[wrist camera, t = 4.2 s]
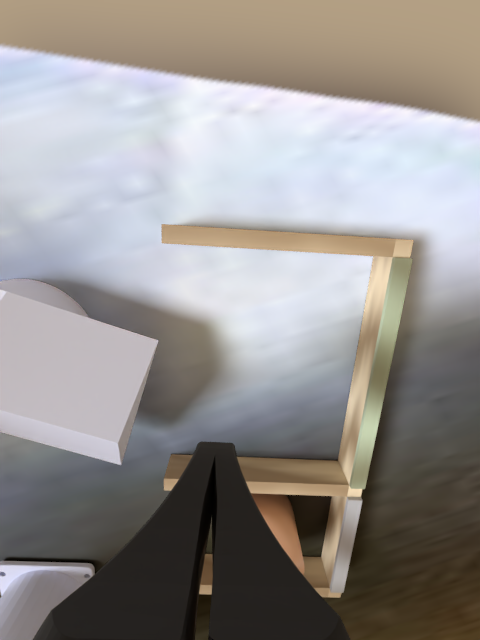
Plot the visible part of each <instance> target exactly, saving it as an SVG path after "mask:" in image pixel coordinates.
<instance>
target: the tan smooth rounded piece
mask: <svg viewBox="0 0 480 640" xmlns="http://www.w3.org/2000/svg"><path fill="white" fill-rule="evenodd" d="M251 495H252V497H253V499H254V501H255V503H256V505H257V507H258V509H259V510H260V512H261V514H262V516H263V518H264V519H265V521H266V523H267V524H268V526H269V528H270V529H271V531H272V533H273V534H274V536H275V537H276V539H277V540H278V542H279V543H280V545H281V546H282V548H283V549H284V550H285V552H286V553H287V554H288V556H289V557H290V558H291V560H292V561H293V563H294V564H295V565H296V567H297V568H298V569H299V571H300V572H301V573H302V574H303V576H304V570H305V567H304V561H303V556H302V551H301V546H300V542H299V537H298V532H297V528H296V523H295V518H294V513H293V509H292V505H291V502H290V500H289V498H288V497H287V496H286V495H285V494H258V493H251Z"/></svg>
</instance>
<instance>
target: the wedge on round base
mask: <svg viewBox="0 0 480 640" xmlns="http://www.w3.org/2000/svg"><path fill="white" fill-rule="evenodd" d="M158 341H159V340H156V339H153V338H150V337H146V336H143V335H140V334H137V333H134V332H131V331H128V330H125V329H122V328H119V327H115V326H112V325H109V324H106V323H103V322H100V321H97V320H94V319H91V318H89V317H88V315H87V314H86V312H85V311H84V310H83V309H82V307H81V306H80V305H79V304H78V303H77V302H76V301H75V300H74V299H73V298H71V297H70V296H69V295H67V294H66V293H65V292H63V291H61V290H60V289H58V288H56V287H54V286H52V285H49V284H47V283H44V282H40V281H36V280H30V279H10V280H4V281H0V432H2V433H6V434H9V435H13V436H17V437H20V438H24V439H28V440H31V441H35V442H39V443H42V444H46V445H50V446H53V447H57V448H60V449H64V450H68V451H71V452H75V453H79V454H82V455H86V456H90V457H93V458H97V459H101V460H104V461H108V462H112V463H115V464H119V465H121V464H122V461H123V457H124V454H125V451H126V447H127V444H128V441H129V437H130V434H131V431H132V427H133V424H134V421H135V417H136V414H137V411H138V407H139V404H140V401H141V398H142V394H143V391H144V388H145V384H146V381H147V378H148V374H149V371H150V368H151V364H152V361H153V358H154V354H155V351H156V348H157V345H158Z"/></svg>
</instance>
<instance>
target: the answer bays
mask: <svg viewBox="0 0 480 640" xmlns="http://www.w3.org/2000/svg"><path fill="white" fill-rule="evenodd" d="M413 241H414V240H405V239H389V238H373V237H357V236H341V235H325V234H309V233H293V232H277V231H261V230H245V229H230V228H214V227H198V226H182V225H166V224H162V243H167V244H184V245H200V246H216V247H233V248H249V249H266V250H282V251H299V252H315V253H331V254H348V255H364V256H373V262H372V268H371V273H370V279H369V285H368V291H367V296H366V302H365V308H364V314H363V319H362V325H361V331H360V337H359V342H358V348H357V354H356V360H355V365H354V371H353V377H352V383H351V388H350V394H349V400H348V406H347V411H346V417H345V423H344V429H343V434H342V440H341V446H340V452H339V457H338V461H332V460H306V459H280V458H254V457H237V459H238V462H239V465H240V468H241V471H242V474H243V476H244V479H245V481H246V483H247V486H248V488H249V490H250V492H251V493H258V494H286V495H315V496H332V498H331V504H330V509H329V515H328V521H327V527H326V532H325V538H324V544H323V550H322V555H321V557H303V561H304V567H305V570H304V577H305V578H306V579H307V580H308V582H309V583H310V584H311V585H312V587H313V588H314V589H315V590H316V591H317V592H318V593H319V595H320V596H321V597H339V598H340V596H341V593H343V592H344V587H345V583H346V578H347V573H348V568H349V563H350V559H351V554H352V549H353V544H354V539H355V535H356V530H357V525H358V520H359V515H360V511H361V506H362V501H363V500H362V498H361V494H362V489H365V487H366V482H367V477H368V472H369V467H370V463H371V458H372V453H373V448H374V443H375V439H376V434H377V429H378V424H379V419H380V415H381V410H382V405H383V400H384V395H385V391H386V386H387V381H388V376H389V371H390V367H391V362H392V357H393V352H394V347H395V343H396V338H397V333H398V328H399V323H400V319H401V314H402V309H403V304H404V299H405V295H406V290H407V285H408V280H409V275H410V271H411V266H412V261H413V259H412V258H410V256H411V251H412V246H413ZM192 456H193V455H177V454H171V456H170V460H169V463H168V466H167V470H166V473H165V476H164V490H172V489H173V487H174V486H175V484H176V483H177V481H178V480H179V478H180V477H181V475H182V473H183V472H184V470H185V469H186V467H187V465H188V463H189V461H190V460H191V458H192ZM212 580H213V559H212V554H205V559H204V565H203V571H202V577H201V583H200V591H199V594H212Z"/></svg>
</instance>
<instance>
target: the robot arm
mask: <svg viewBox="0 0 480 640" xmlns="http://www.w3.org/2000/svg"><path fill="white" fill-rule="evenodd" d="M211 517H212V559H213V580H212V594H211V609H210V623H209V638H208V640H350V638H349V635H348V633H347V631H346V629H345V626H344V624H343V622H342V620H341V618H340V616H339V615H338V614H337V613H336V612H335V611H334V610H333V609H332V608H331V607H330V606H329V605H328V604H327V602H326V601H325V600H324V599H323V598H322V597H321V596H320V595H319V593H318V592H317V591H316V590H315V589H314V588H313V587H312V585H311V584H310V583H309V582H308V580H307V579H306V578H305V577H304V576H303V574H302V573H301V572H300V571H299V569H298V568H297V567H296V565H295V564H294V563H293V561H292V560H291V558H290V557H289V556H288V554H287V553H286V552H285V550H284V549H283V548H282V546H281V545H280V543H279V542H278V540H277V539H276V537H275V536H274V534H273V533H272V531H271V529H270V528H269V526H268V524H267V523H266V521H265V519H264V518H263V516H262V514H261V512H260V510H259V509H258V507H257V505H256V503H255V501H254V499H253V497H252V495H251V492H250V490H249V488H248V486H247V483H246V481H245V479H244V476H243V474H242V471H241V468H240V465H239V462H238V459H237V455H236V451H235V446H234V445H233V443H220V442H200V443H198V444H197V447H196V450H195V452H194V454H193V456H192V458H191V460H190V461H189V463H188V465H187V467H186V469H185V470H184V472H183V473H182V475H181V477H180V478H179V480H178V481H177V483H176V484H175V486H174V487H173V489H172V490H171V492H170V493H169V494H168V496H167V497H166V499H165V500H164V501H163V503H162V504H161V505H160V507H159V508H158V509H157V510H156V512H155V513H154V514H153V515H152V516H151V518H150V519H149V520H148V521H147V522H146V524H145V525H144V526H143V527H142V528H141V529H140V530H139V531H138V532H137V533H136V535H135V536H134V537H133V538H132V539H131V540H130V541H129V542H128V543H127V544H126V545H125V546H124V547H123V548H122V549H121V550H120V551H119V552H118V553H117V554H116V555H115V556H114V557H113V558H112V559H111V560H110V561H109V562H107V563H106V564H105V565H104V566H103V567H102V568H101V569H100V570H99V571H98V572H97V573H96V574H95V570H94V566H93V565H92V564H91V563H69V562H32V561H1V562H0V590H1V595H2V597H1V598H0V640H195V631H196V620H197V609H198V598H199V591H200V583H201V577H202V571H203V565H204V559H205V553H206V547H207V541H208V535H209V529H210V523H211Z"/></svg>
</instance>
